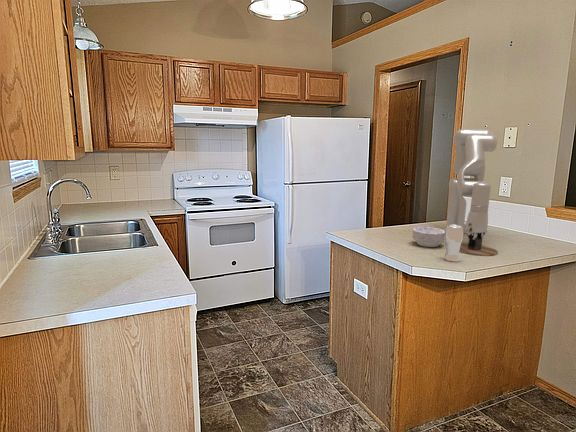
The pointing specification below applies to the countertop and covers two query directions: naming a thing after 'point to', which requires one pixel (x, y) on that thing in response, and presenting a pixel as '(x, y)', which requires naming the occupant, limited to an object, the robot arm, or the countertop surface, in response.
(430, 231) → the paper bowls
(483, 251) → the walnut lid
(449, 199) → the robot arm
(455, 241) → the beer glass
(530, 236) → the countertop surface
